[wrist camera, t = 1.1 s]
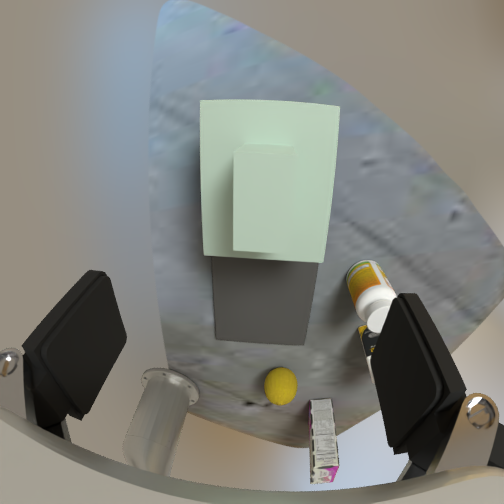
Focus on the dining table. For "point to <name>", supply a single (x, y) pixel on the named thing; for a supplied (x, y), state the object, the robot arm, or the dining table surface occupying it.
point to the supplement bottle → (370, 293)
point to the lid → (267, 178)
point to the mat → (262, 299)
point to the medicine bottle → (368, 344)
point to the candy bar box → (322, 441)
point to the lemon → (280, 386)
